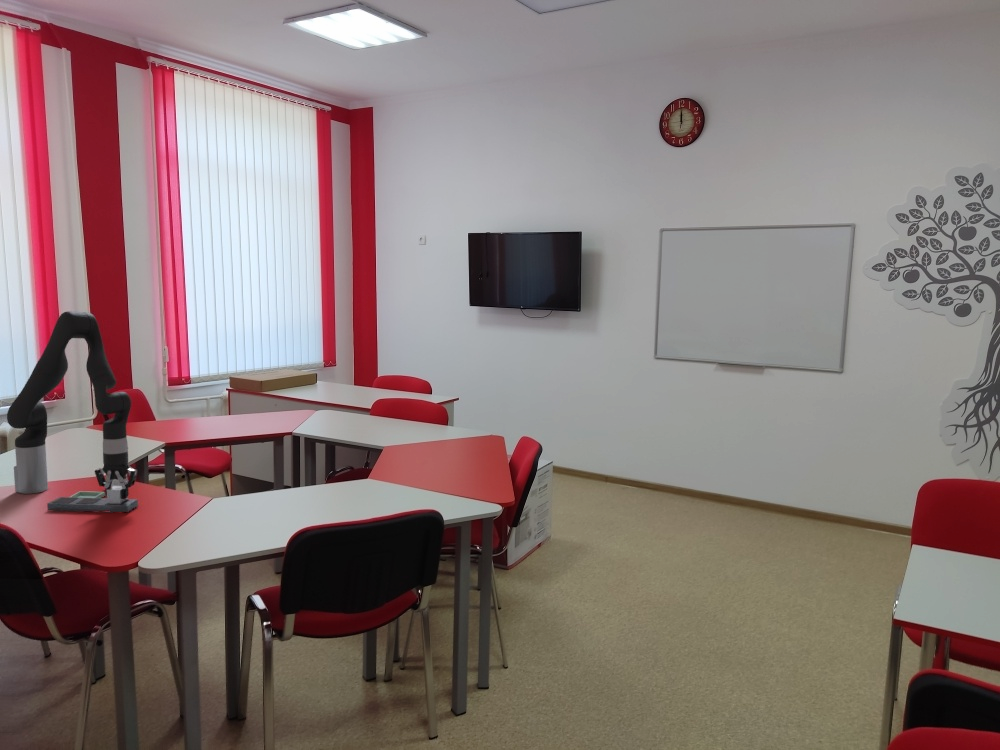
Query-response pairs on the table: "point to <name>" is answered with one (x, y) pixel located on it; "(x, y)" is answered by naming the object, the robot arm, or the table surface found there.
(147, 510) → the table surface
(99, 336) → the robot arm
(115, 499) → the light grey block
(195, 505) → the table surface
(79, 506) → the dark grey organizer
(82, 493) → the tray
